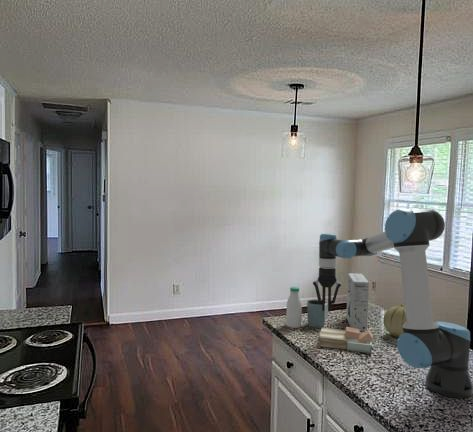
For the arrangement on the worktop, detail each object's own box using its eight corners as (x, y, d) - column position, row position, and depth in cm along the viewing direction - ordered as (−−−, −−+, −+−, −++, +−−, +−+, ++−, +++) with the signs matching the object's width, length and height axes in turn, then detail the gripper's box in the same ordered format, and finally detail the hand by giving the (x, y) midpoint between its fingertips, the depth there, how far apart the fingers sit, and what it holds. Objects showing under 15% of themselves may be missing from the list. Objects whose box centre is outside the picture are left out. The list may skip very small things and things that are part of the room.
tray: (371, 353, 180) (371, 345, 180) (346, 350, 183) (347, 342, 183) (370, 340, 196) (370, 333, 195) (347, 338, 198) (348, 330, 198)
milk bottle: (300, 329, 210) (302, 289, 209) (285, 327, 212) (286, 288, 210) (301, 324, 218) (302, 286, 216) (286, 323, 219) (287, 285, 218)
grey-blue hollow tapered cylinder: (303, 322, 221) (303, 300, 220) (320, 321, 224) (320, 299, 223) (312, 328, 211) (313, 305, 210) (329, 327, 214) (330, 304, 213)
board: (346, 349, 184) (346, 340, 184) (319, 345, 187) (319, 337, 187) (347, 338, 197) (347, 330, 197) (321, 335, 201) (321, 327, 201)
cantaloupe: (383, 339, 197) (385, 308, 196) (381, 329, 211) (383, 300, 210) (417, 343, 193) (419, 311, 192) (413, 333, 207) (414, 303, 206)
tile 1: (358, 339, 186) (359, 333, 186) (344, 336, 188) (345, 330, 188) (358, 335, 192) (359, 329, 192) (345, 332, 194) (346, 326, 193)
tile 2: (357, 340, 187) (361, 346, 186) (368, 333, 185) (373, 338, 185) (357, 336, 192) (361, 341, 192) (368, 328, 191) (372, 334, 190)
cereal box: (346, 317, 231) (347, 273, 229) (360, 318, 230) (362, 273, 228) (351, 330, 209) (353, 281, 208) (367, 331, 208) (369, 282, 207)
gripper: (342, 266, 193) (341, 317, 194) (313, 265, 197) (312, 314, 198) (341, 269, 186) (340, 321, 187) (312, 267, 190) (311, 319, 191)
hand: (326, 318), depth 192 cm, fingers closed
